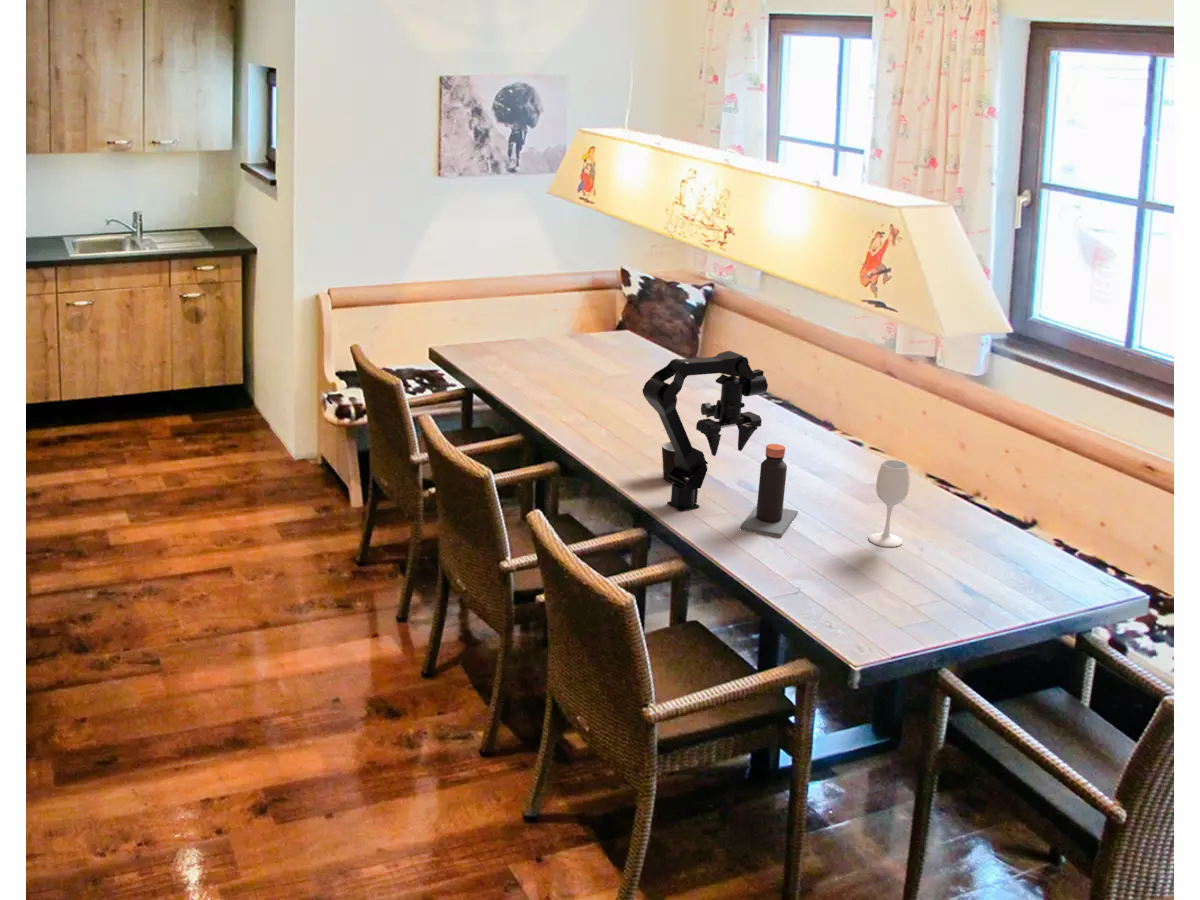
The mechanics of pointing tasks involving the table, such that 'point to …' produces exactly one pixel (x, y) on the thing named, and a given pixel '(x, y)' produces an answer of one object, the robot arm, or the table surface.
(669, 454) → the coffee mug
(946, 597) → the table surface
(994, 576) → the table surface
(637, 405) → the table surface
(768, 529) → the gray board
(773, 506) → the vinegar
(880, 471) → the wineglass
